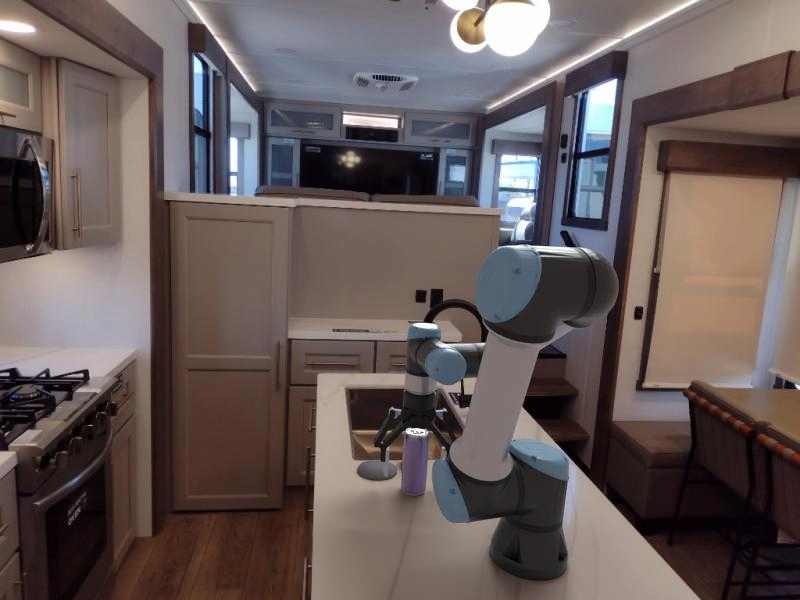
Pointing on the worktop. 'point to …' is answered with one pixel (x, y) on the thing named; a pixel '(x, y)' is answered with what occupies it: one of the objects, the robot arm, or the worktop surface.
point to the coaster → (376, 470)
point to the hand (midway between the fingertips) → (414, 474)
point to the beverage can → (415, 461)
